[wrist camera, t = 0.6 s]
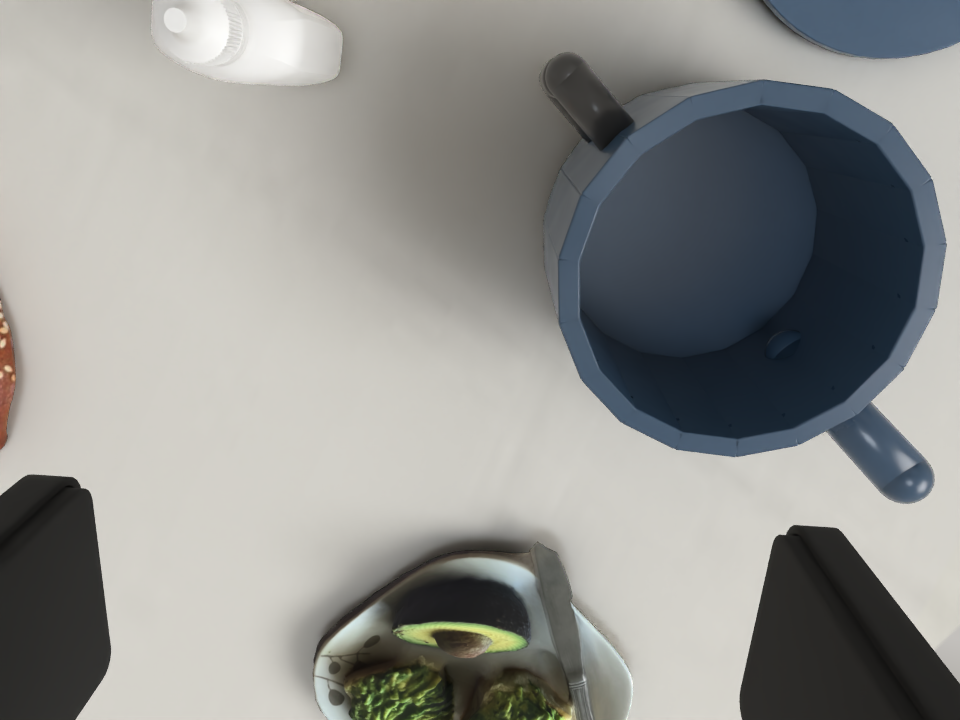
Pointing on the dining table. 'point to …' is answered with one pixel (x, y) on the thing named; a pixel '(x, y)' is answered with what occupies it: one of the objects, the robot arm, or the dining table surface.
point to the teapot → (743, 262)
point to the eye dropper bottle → (248, 40)
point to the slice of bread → (5, 375)
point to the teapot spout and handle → (860, 436)
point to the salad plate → (472, 647)
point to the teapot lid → (873, 25)
